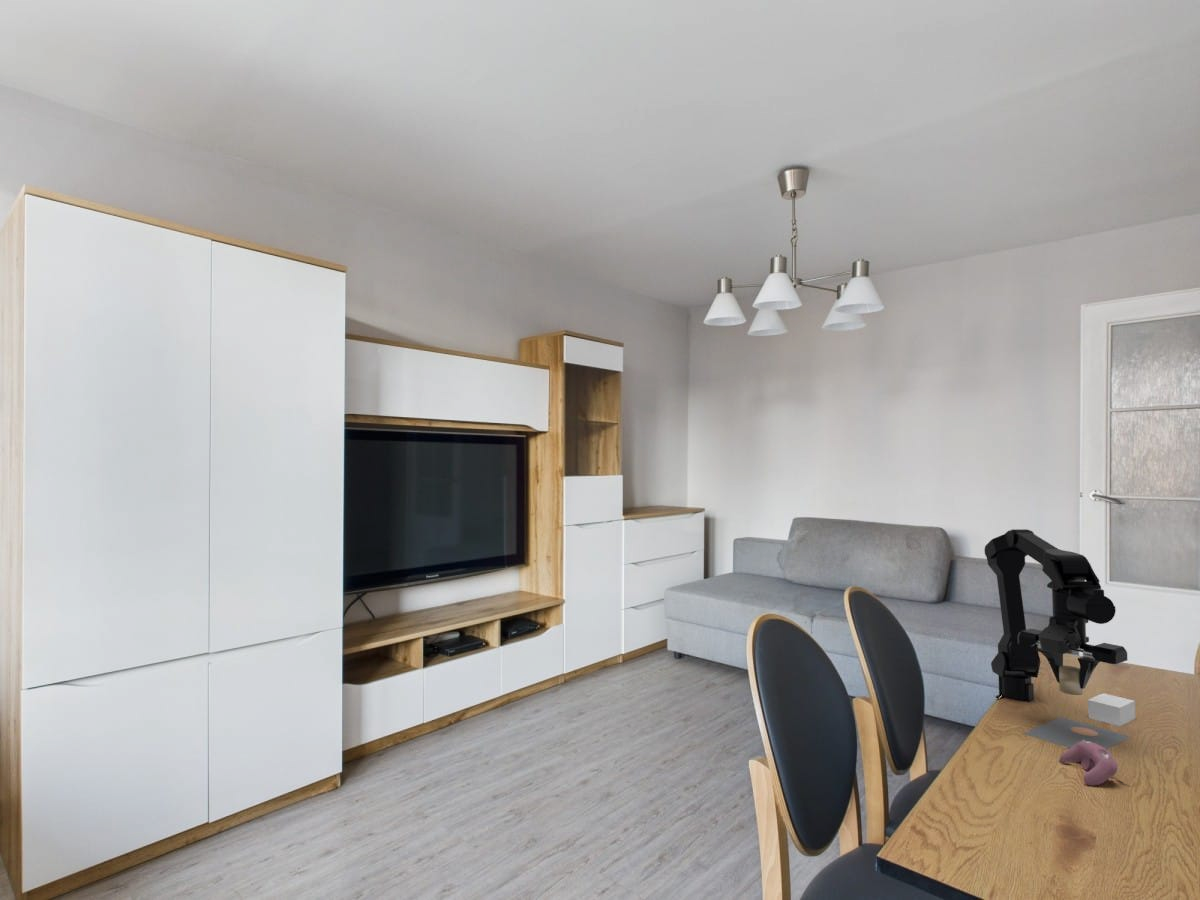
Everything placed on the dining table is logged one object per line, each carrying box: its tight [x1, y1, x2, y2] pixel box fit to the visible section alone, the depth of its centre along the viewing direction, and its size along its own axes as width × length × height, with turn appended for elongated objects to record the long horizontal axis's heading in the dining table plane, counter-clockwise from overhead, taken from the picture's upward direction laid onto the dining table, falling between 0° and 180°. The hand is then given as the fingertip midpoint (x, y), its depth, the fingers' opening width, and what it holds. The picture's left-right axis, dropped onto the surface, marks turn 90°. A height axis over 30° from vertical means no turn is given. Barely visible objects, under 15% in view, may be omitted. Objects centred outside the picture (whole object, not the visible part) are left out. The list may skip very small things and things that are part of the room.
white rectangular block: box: [1087, 692, 1136, 727], centre depth 146 cm, size 6×8×5 cm
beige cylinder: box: [1058, 665, 1084, 696], centre depth 139 cm, size 4×4×5 cm
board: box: [1023, 716, 1132, 750], centre depth 137 cm, size 13×17×1 cm
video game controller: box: [1059, 740, 1119, 787], centre depth 121 cm, size 10×5×7 cm, turn 170°
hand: (1071, 685), depth 139 cm, fingers closed on beige cylinder, 4 cm apart
